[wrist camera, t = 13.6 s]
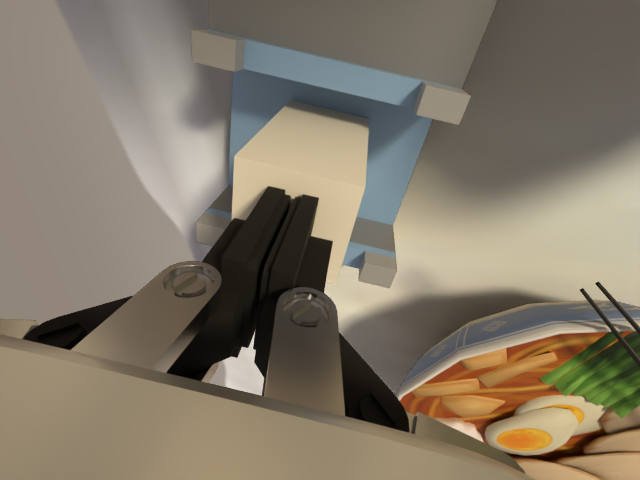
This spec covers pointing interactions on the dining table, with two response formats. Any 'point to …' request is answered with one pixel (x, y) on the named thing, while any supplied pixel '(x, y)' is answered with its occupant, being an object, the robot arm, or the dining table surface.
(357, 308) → the dining table surface
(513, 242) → the dining table surface
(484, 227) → the dining table surface
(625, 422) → the ramen bowl
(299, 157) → the plug
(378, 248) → the grey tiered shelf stand
